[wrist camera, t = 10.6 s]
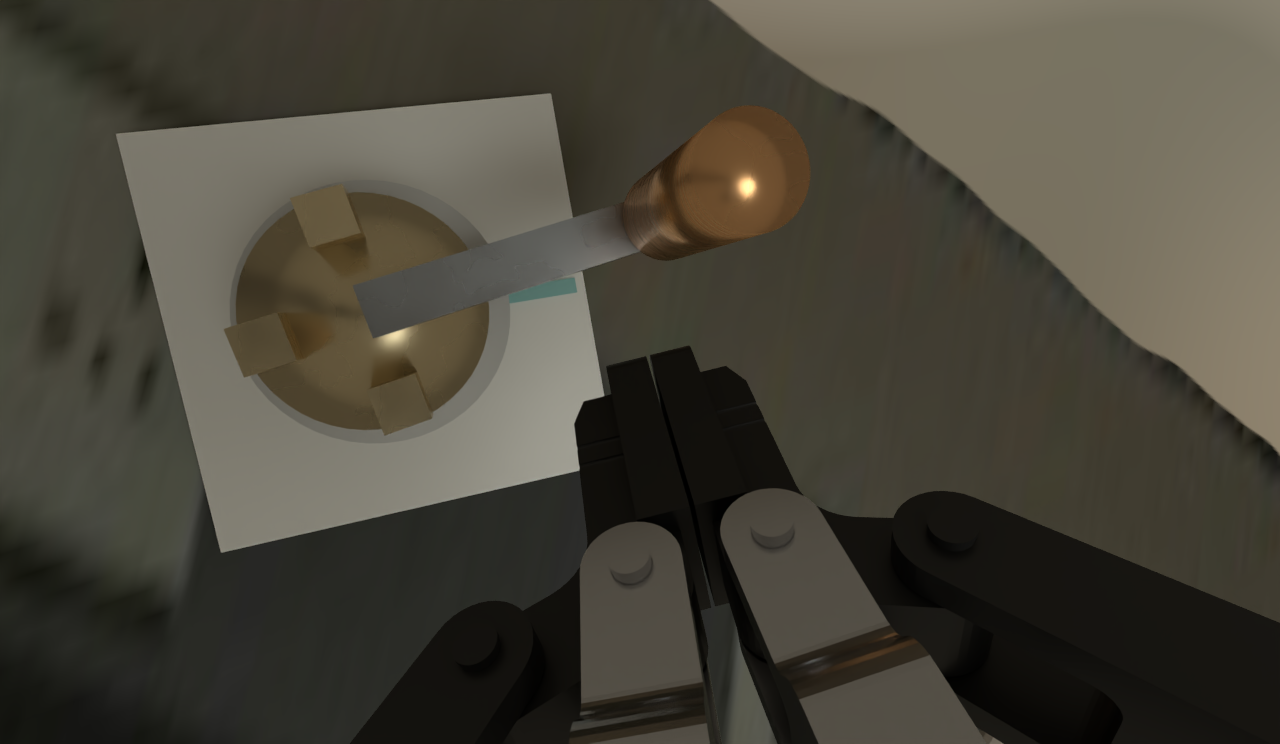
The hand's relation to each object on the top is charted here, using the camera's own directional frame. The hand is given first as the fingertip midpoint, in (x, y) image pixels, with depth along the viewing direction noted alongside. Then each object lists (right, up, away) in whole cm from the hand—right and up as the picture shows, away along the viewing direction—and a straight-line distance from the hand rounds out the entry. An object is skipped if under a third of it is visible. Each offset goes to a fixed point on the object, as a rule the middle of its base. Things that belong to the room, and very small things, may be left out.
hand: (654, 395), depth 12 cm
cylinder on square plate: (-13, +3, +23) cm, 27 cm away
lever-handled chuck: (-7, +4, +17) cm, 19 cm away
